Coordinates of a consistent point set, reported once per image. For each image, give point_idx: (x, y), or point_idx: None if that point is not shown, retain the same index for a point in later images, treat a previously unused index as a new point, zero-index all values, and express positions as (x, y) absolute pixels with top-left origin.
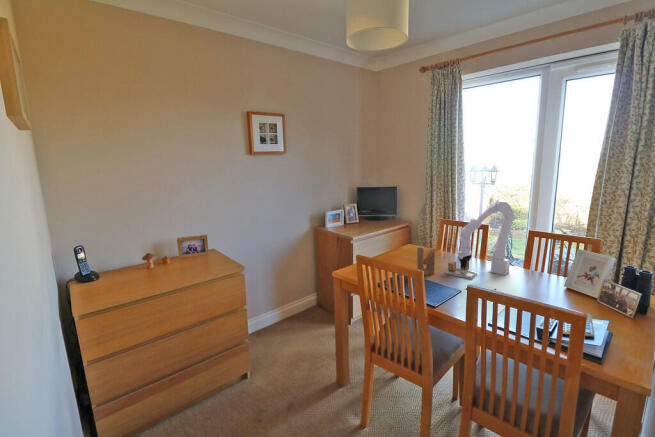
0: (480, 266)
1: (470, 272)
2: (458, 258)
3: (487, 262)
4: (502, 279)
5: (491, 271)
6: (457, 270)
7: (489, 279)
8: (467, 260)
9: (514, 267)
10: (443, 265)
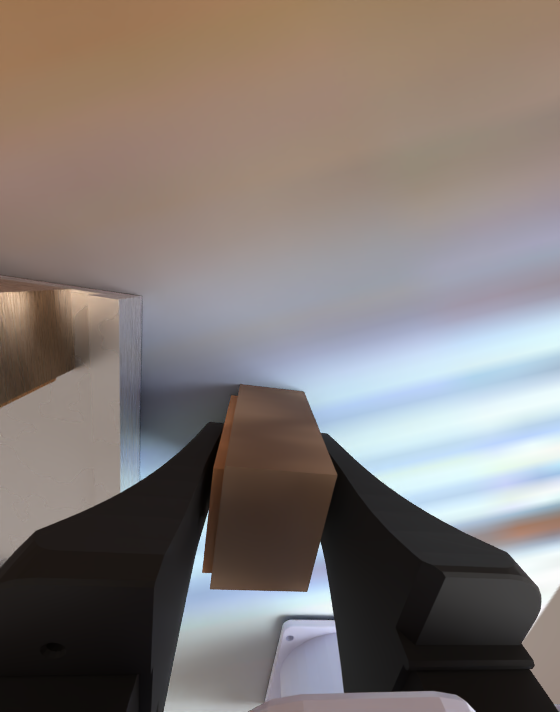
0: None
1: None
2: (28, 540)
3: (555, 555)
4: (165, 709)
5: (287, 645)
6: (78, 394)
7: None
8: (311, 563)
9: None
10: (266, 93)
